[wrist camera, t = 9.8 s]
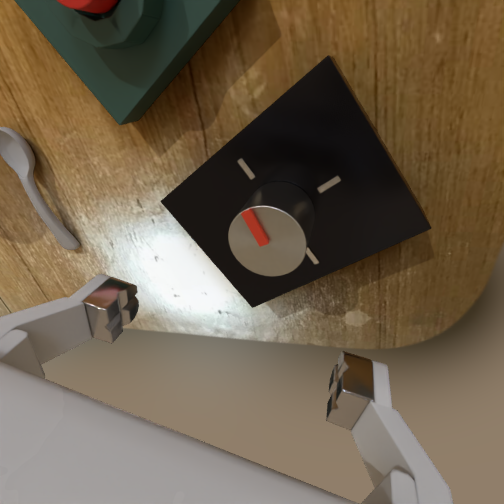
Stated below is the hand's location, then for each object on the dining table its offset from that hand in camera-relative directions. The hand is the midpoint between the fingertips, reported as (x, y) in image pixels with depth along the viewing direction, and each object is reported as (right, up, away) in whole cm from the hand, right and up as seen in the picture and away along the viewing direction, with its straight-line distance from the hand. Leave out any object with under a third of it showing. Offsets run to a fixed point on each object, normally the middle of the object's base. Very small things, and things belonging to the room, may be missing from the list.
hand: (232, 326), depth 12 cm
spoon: (-18, +9, +17) cm, 27 cm away
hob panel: (+3, +7, +11) cm, 13 cm away
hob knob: (+3, +5, +8) cm, 10 cm away
